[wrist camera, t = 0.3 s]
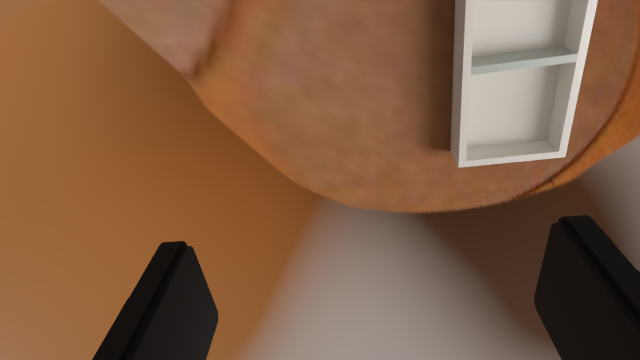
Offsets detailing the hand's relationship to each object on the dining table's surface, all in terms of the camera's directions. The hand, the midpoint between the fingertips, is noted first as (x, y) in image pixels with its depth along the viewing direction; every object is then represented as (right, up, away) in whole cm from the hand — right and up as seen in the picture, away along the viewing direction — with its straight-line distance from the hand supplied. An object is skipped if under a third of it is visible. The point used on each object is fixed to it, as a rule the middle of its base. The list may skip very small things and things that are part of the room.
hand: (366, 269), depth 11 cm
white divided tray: (+19, +16, +32) cm, 40 cm away
